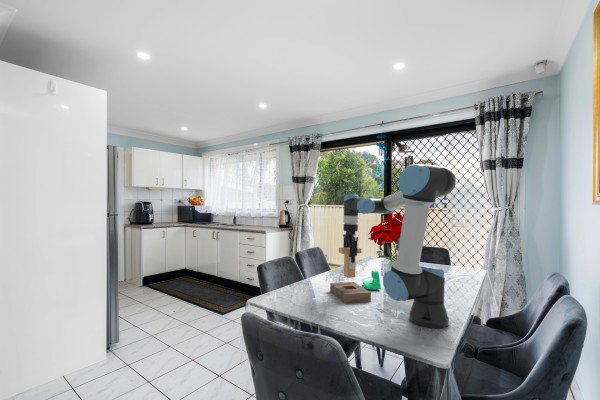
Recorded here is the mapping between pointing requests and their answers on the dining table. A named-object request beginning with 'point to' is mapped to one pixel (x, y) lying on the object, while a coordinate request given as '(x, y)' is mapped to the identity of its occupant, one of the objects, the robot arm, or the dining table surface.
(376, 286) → the camera mount
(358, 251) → the wooden t-shaped post
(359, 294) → the well block
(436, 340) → the dining table surface
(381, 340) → the dining table surface
